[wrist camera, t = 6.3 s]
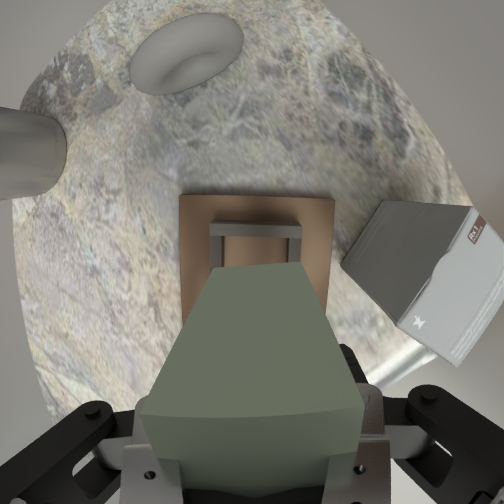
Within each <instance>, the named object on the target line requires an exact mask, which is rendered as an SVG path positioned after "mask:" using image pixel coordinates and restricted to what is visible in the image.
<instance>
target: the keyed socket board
mask: <svg viewBox="0 0 504 504" xmlns="http://www.w3.org/2000/svg"><path fill="white" fill-rule="evenodd" d="M334 209H335V200H334V199H325V198H307V197H285V196H258V195H213V194H182V195H179V230H180V275H181V299H182V319H183V325H184V323H185V321H186V319H187V318H188V316H189V314H190V312H191V310H192V308H193V306H194V304H195V302H196V300H197V298H198V296H199V294H200V292H201V291H202V289H203V287H204V285H205V283H206V281H207V279H208V277H209V275H210V273H211V272H212V270H213V268H218V267H233V266H247V265H261V264H275V263H288V262H301V263H302V265H303V267H304V269H305V271H306V273H307V276H308V278H309V280H310V282H311V284H312V286H313V288H314V291H315V293H316V295H317V297H318V299H319V301H320V304H321V306H322V308H323V310H324V312H325V313H326V304H327V295H328V285H329V275H330V264H331V252H332V239H333V225H334Z"/></svg>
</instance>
